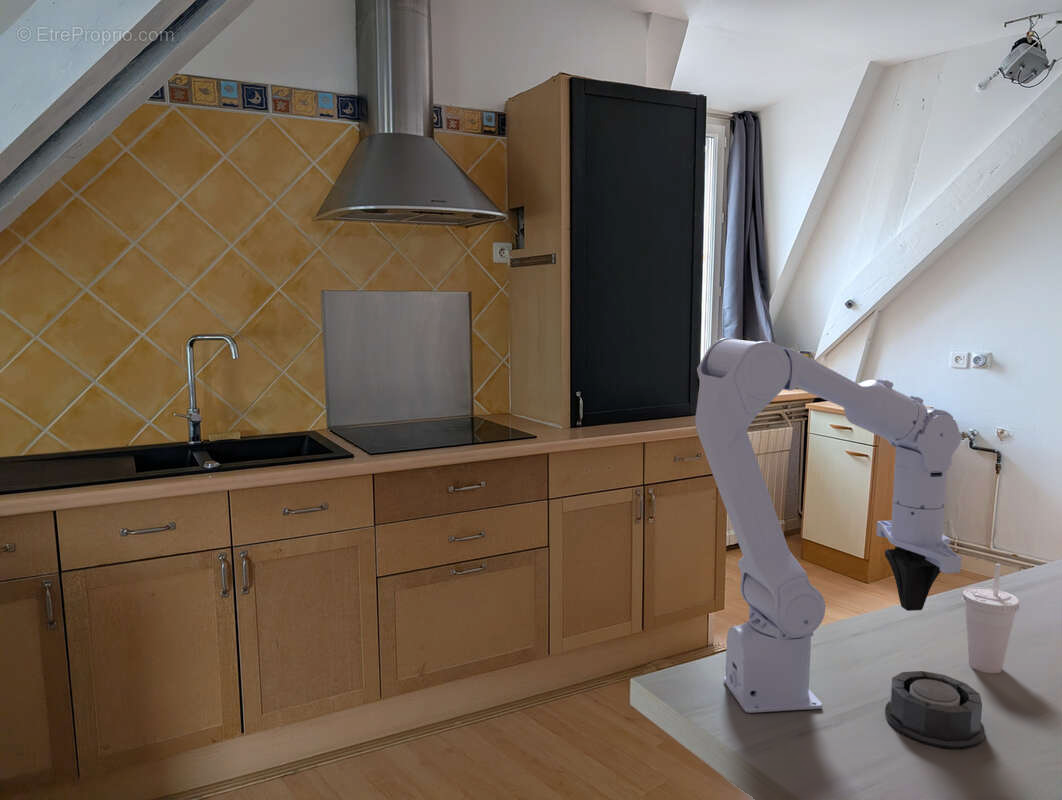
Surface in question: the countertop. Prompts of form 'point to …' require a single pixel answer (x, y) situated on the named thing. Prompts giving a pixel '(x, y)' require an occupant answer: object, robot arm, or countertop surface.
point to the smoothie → (989, 624)
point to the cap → (935, 692)
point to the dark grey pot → (935, 714)
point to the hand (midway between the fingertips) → (911, 608)
